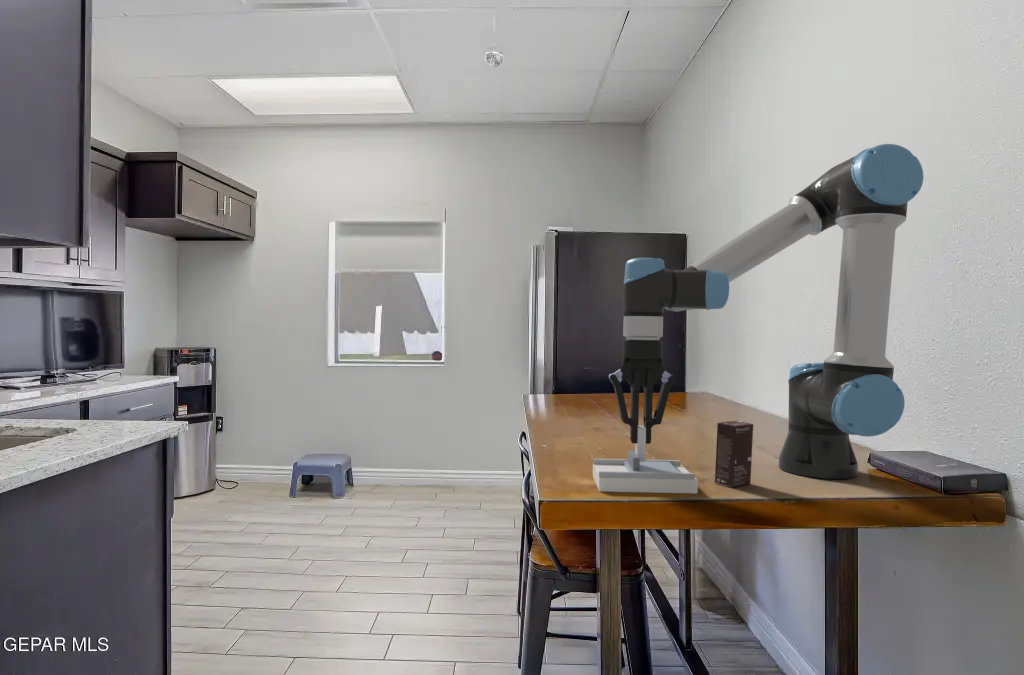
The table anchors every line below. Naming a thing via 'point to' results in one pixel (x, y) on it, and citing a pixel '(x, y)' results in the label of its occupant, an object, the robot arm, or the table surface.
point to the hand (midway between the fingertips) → (640, 460)
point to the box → (733, 453)
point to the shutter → (647, 465)
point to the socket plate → (642, 478)
